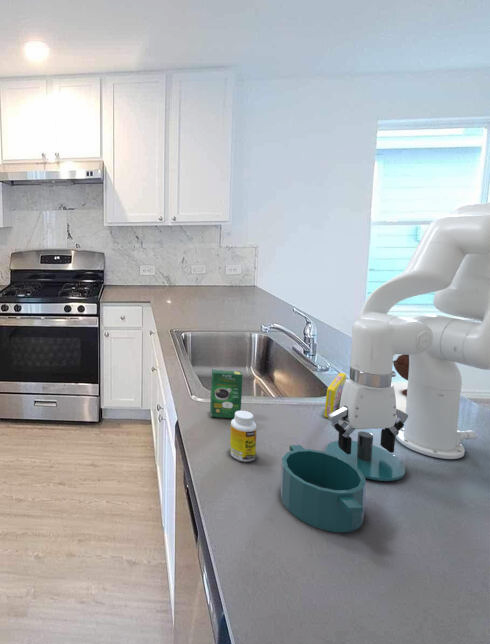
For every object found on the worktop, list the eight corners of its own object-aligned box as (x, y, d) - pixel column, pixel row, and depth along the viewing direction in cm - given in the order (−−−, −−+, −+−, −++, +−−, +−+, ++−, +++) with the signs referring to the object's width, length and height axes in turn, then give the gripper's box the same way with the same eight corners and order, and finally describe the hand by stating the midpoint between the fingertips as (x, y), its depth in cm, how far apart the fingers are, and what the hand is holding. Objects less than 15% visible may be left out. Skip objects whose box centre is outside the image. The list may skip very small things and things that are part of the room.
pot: (324, 473, 88) (326, 440, 87) (393, 543, 69) (396, 502, 68) (262, 475, 87) (263, 443, 86) (314, 546, 68) (316, 505, 68)
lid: (371, 443, 99) (373, 417, 98) (423, 482, 84) (426, 452, 83) (312, 445, 98) (313, 419, 98) (353, 485, 84) (355, 454, 83)
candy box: (332, 419, 111) (334, 390, 110) (323, 417, 112) (325, 388, 111) (345, 399, 123) (346, 373, 122) (336, 397, 124) (338, 371, 123)
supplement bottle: (245, 465, 91) (247, 422, 90) (225, 454, 96) (225, 412, 94) (260, 457, 94) (262, 415, 93) (239, 446, 99) (240, 406, 97)
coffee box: (239, 414, 114) (240, 370, 113) (241, 419, 112) (242, 373, 110) (210, 413, 116) (210, 368, 114) (211, 417, 113) (211, 372, 112)
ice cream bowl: (383, 386, 131) (386, 341, 129) (421, 388, 129) (425, 342, 128) (404, 401, 120) (408, 352, 119) (446, 403, 119) (450, 353, 117)
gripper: (395, 369, 93) (390, 439, 95) (321, 371, 93) (317, 442, 95) (423, 382, 85) (417, 458, 87) (342, 385, 85) (338, 461, 87)
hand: (365, 450), depth 91 cm, fingers open, 9 cm apart
